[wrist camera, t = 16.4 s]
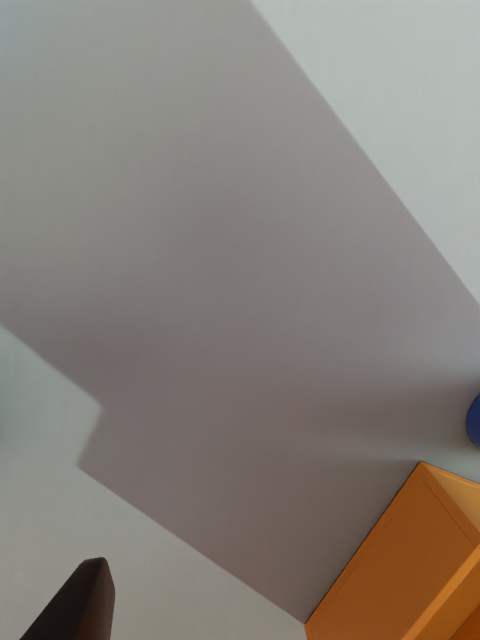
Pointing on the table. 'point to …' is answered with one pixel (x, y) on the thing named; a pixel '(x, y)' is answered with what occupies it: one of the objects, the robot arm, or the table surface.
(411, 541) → the box
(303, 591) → the table surface
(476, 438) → the bottle
